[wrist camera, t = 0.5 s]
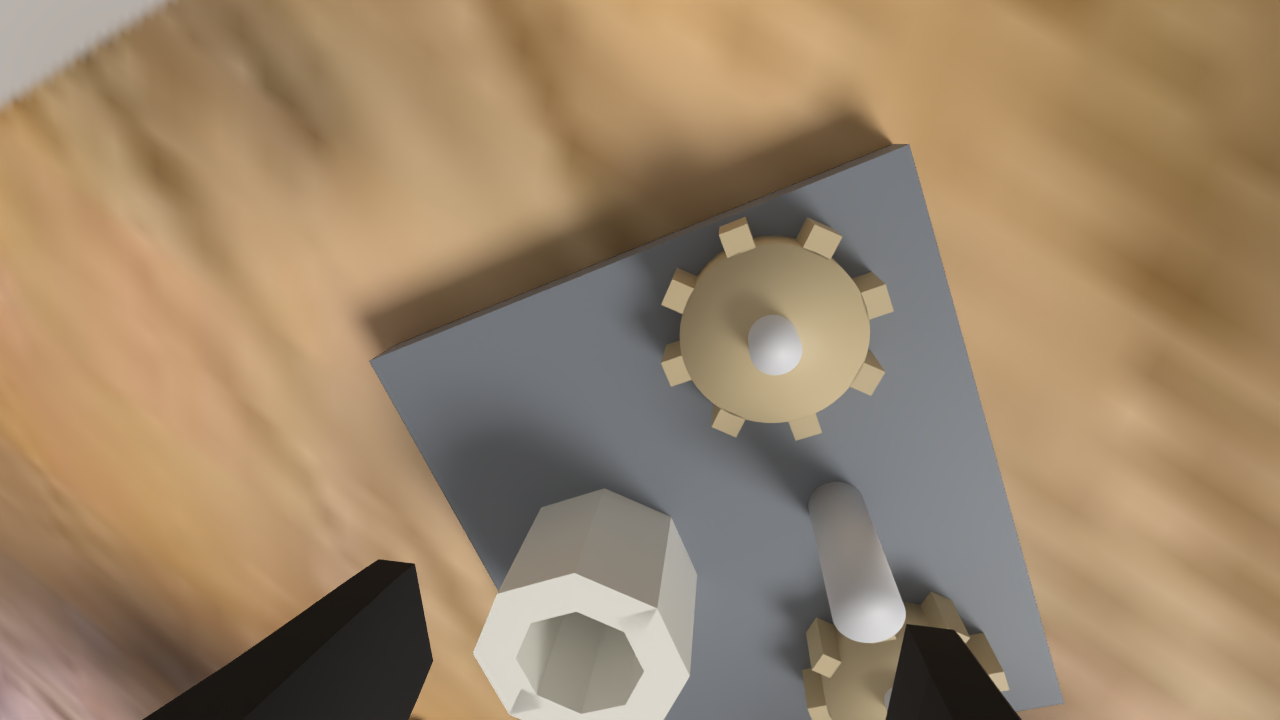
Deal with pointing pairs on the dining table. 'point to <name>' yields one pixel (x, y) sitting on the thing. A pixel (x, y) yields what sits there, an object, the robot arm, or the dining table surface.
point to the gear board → (755, 441)
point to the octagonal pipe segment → (593, 615)
